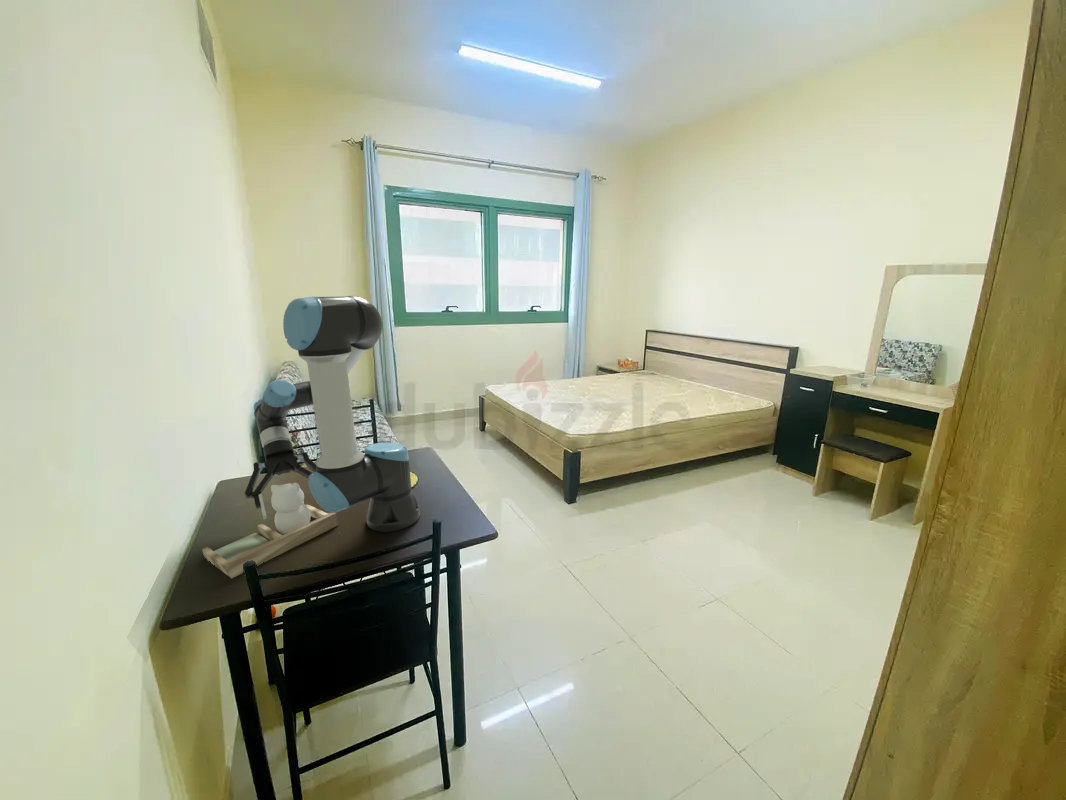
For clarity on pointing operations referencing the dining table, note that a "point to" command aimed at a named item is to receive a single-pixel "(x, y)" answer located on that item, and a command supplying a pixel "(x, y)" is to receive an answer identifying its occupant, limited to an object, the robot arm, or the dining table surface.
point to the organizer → (267, 543)
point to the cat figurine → (289, 507)
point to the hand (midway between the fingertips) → (293, 509)
